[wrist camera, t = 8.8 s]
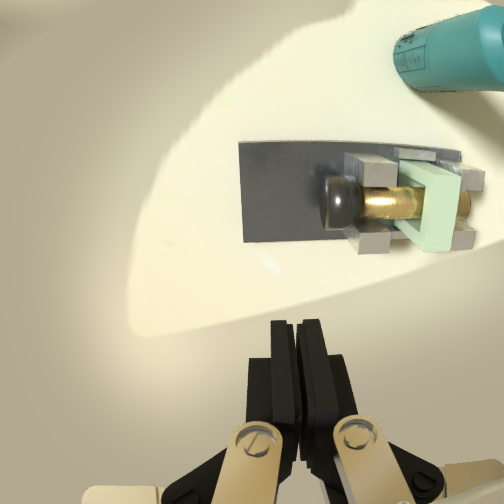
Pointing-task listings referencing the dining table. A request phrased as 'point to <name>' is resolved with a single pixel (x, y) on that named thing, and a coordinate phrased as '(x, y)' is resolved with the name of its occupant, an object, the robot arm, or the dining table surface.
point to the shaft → (372, 202)
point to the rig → (308, 184)
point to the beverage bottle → (455, 53)
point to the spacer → (431, 205)
